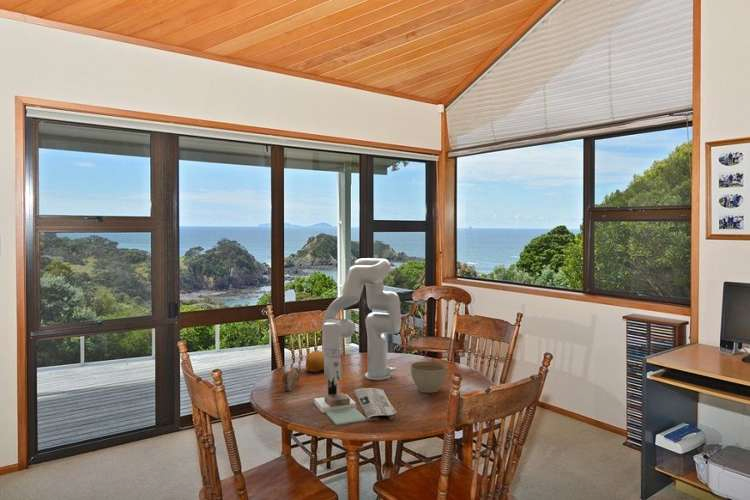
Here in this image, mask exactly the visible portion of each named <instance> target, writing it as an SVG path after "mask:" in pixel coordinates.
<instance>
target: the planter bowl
mask: <svg viewBox="0 0 750 500" xmlns="http://www.w3.org/2000/svg"><path fill="white" fill-rule="evenodd" d="M409 367H410V373H411V374H410V375H411V378H412V380H413V383H414V384H415V385H416V387H417V390H418V391H419V392H421V393H429V394H431V393H437V392H439V391H440V388H441V387H442V385H443V383H444V381H445V379H446V376H447V365H446V364H444V363H441V362H438V361H427V360H426V361H425V360H423V361H416V362H413V363H411V364H410V366H409Z"/></svg>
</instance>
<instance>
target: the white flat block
mask: <svg viewBox="0 0 750 500" xmlns="http://www.w3.org/2000/svg"><path fill="white" fill-rule="evenodd" d="M344 394H345V393H344ZM345 395H346V396H348V397H349V398H350V404H349V405H342V406H336V407H330V406H329V405H328V404H327V403H326V402H325V397H315V398H313V403H314V405H315V406H316V407H317V409H318V410H319V411H320V412H321V413H322V414H324V413H325V411H330V410H337V409H344V408H351V407H355V408H356V409H357V403H356V402H355V400H353V399H352V398H351V397H350V396H349V395H348V394H345ZM325 414H326V413H325Z"/></svg>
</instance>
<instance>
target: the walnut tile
mask: <svg viewBox="0 0 750 500" xmlns="http://www.w3.org/2000/svg"><path fill="white" fill-rule="evenodd" d="M346 395H347V394H346ZM346 395H345V393H344V392H339V393H337V394H330V395H328V394H324V397H325V402H326V403H327V404H328V405H329V406H330V407H336V406H342V405H349V404H350V398H351V397H350V396H349V395H348V396H349V397H350V398H349V397H348V396H346Z"/></svg>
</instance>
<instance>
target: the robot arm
mask: <svg viewBox="0 0 750 500" xmlns="http://www.w3.org/2000/svg"><path fill="white" fill-rule="evenodd" d="M390 272H391V264H390V261H389V260H388V259H387V258H374V257H373V258H372V257H371V258H370V257H367V258H358V259H357V260H355V261H354V265H352V266H350V267H349V269H348V270H347V273H346V277H345V281H344V284H343V287H342V291H341V294H340V295H339V296H337V297H336V298H335V300H333V301H332V302H331V303H330V304H329V306H328V307H327V308H326V310H325V314H324V316H323V320H322V324H321V330H322V351H323V356H324V357H325V360H324V370H323V372H324V377H325V378H326V379H327V395H330V394H337V387H338V385H339V384H338V380H339V381H341V382H342V380H343V376H342V375H343V374H342V373H343V372H342V360H341V356H342V339H343V338H349V337H351V336H353V335H354V333H355V332H356V324H355V323H354V321H353V320H351V319H349V318H347V319H346V318H338V317H337V315H338V313H340V312H341V311H342V310H344V309H346V308H349V307H350V306H353V305H356V304H358V303H359V302H360V299H361V296H362V293H363V289H364V286H365V290H366V291H365V292H366V293H365V294H366V304H367V305H366V306H367V308H369V310H371V311H376V312H370V313H368V314H367V315H366V317H365V320H364V321H365V322H364V323H365V328H366V333H367V335H366V336H367V372H366V373H364V378H365V379H367V380H372V381H384V380H388V379H390V378H391V373H393V372H394V373H395V372H397V368H396V367H389V366H388V340H387V338H386V335H385V334H398V333H399V331H400V330H401V328H402V316H401V315H402V314H401V300H400V297H399V295H398V293H396V292H394V291H389V290H388V291H385V289H384V281H383V280H384V279H386V278H387V277H388V275H390ZM377 311H378V312H377ZM336 317H337V318H336Z"/></svg>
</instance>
